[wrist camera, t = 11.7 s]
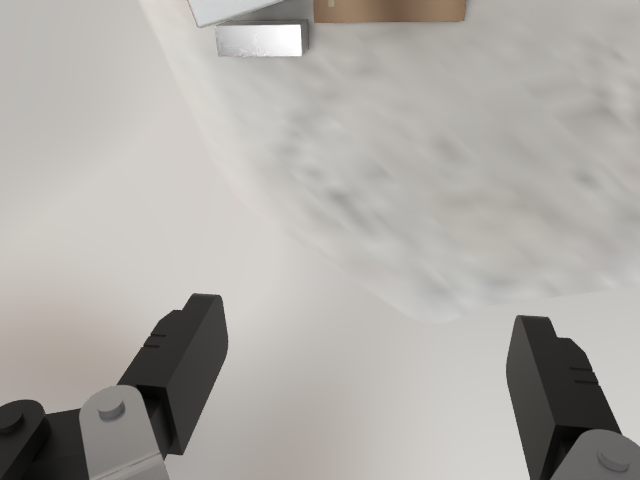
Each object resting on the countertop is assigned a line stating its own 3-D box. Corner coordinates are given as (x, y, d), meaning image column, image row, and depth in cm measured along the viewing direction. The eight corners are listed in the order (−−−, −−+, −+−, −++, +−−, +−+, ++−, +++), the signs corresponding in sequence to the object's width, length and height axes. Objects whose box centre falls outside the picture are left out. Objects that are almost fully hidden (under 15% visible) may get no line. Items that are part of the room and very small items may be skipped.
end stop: (307, 19, 36) (300, 24, 34) (308, 48, 37) (301, 56, 35) (227, 20, 37) (214, 25, 35) (231, 49, 38) (218, 56, 36)
